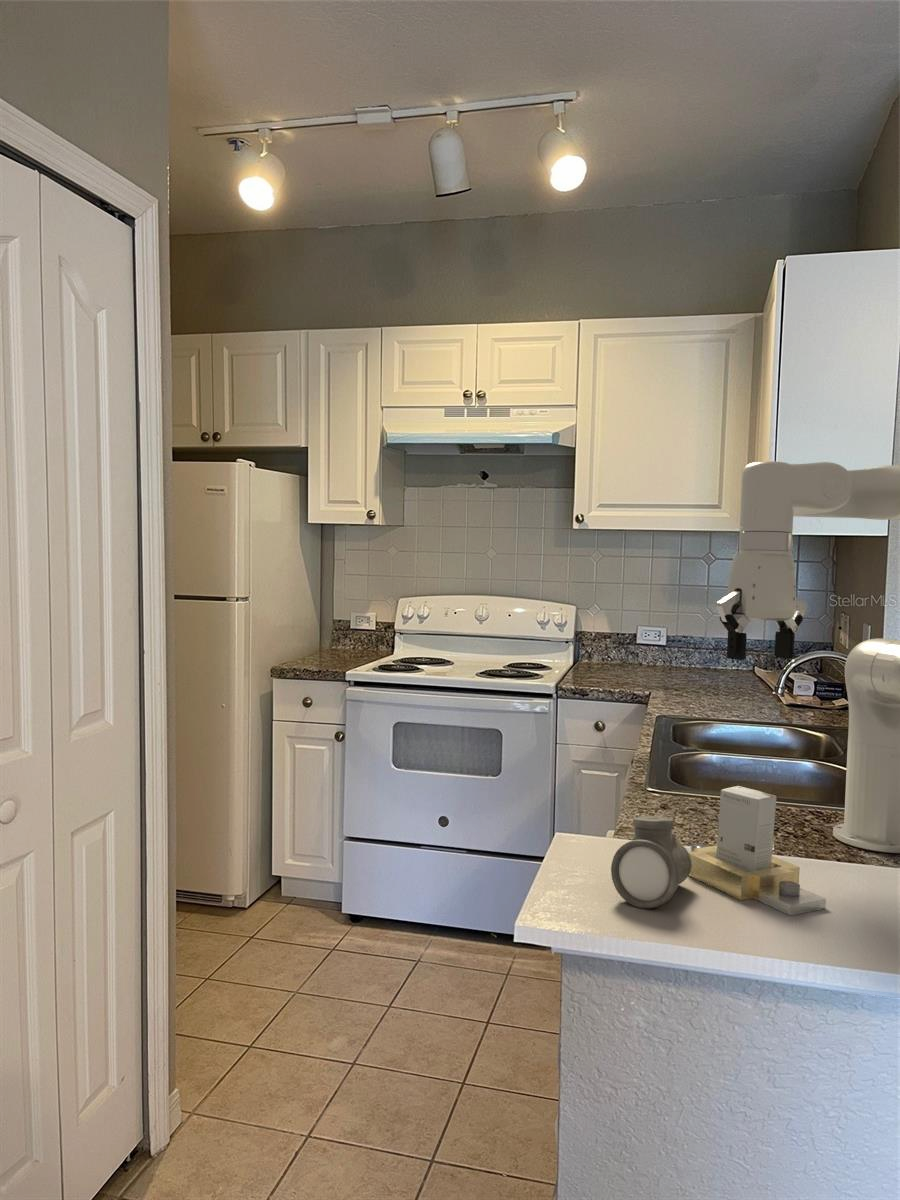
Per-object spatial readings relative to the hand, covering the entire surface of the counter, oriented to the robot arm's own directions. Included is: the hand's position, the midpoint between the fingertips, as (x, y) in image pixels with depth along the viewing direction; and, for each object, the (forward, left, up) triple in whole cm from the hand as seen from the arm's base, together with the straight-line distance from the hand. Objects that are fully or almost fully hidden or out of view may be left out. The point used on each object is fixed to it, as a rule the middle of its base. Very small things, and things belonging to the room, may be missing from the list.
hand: (760, 658), depth 133 cm
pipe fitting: (+28, +11, -29) cm, 41 cm away
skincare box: (+14, +12, -28) cm, 34 cm away
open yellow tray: (+14, +12, -28) cm, 34 cm away
